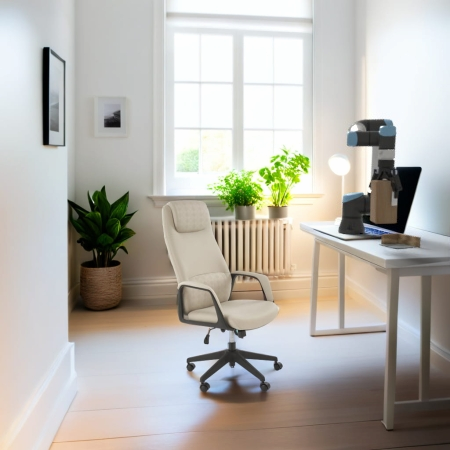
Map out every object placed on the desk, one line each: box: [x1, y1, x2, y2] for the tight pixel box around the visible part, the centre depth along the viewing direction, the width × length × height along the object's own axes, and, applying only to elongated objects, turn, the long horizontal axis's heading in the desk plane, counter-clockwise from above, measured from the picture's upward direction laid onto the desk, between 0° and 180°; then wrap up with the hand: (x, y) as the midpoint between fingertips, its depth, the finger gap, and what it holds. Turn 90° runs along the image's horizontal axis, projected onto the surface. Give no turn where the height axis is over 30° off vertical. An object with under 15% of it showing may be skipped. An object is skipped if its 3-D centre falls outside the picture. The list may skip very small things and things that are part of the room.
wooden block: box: [369, 179, 398, 225], centre depth 238 cm, size 10×10×20 cm
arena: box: [378, 232, 421, 250], centre depth 248 cm, size 15×14×5 cm
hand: (384, 204), depth 238 cm, fingers closed on wooden block, 13 cm apart
